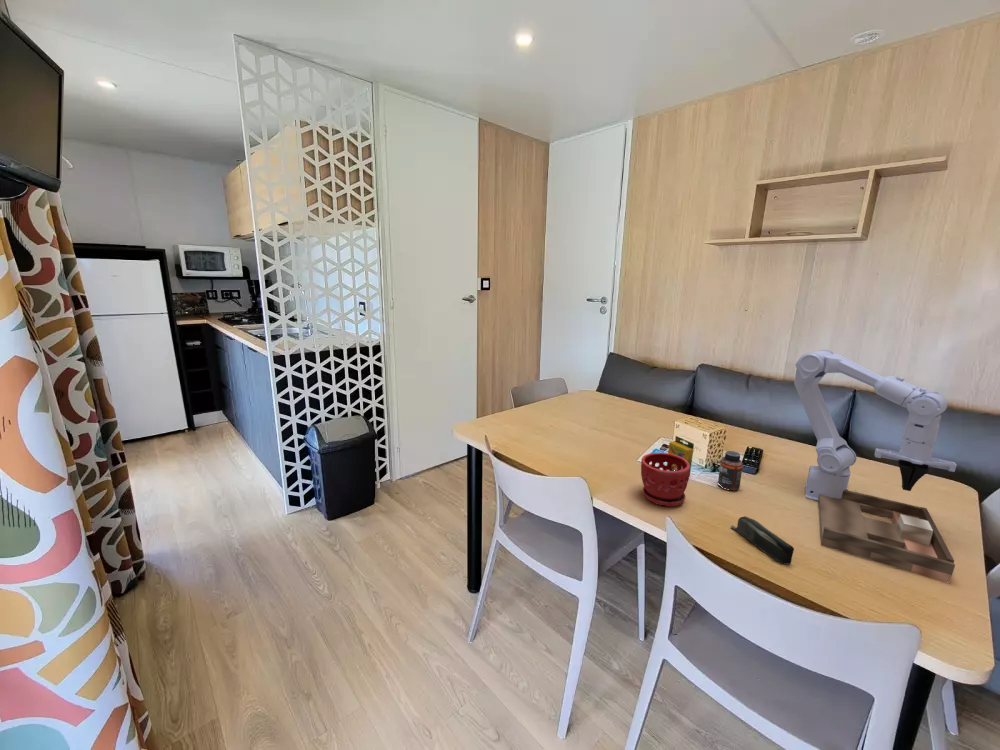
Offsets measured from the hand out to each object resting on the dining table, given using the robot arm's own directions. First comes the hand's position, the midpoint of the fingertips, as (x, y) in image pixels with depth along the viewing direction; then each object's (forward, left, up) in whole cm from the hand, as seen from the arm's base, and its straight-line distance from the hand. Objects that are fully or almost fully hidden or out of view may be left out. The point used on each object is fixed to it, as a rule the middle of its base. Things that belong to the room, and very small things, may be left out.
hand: (906, 489), depth 107 cm
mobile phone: (-29, -31, -11) cm, 44 cm away
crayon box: (-54, -3, -11) cm, 55 cm away
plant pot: (-54, -23, -11) cm, 60 cm away
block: (+1, -9, -8) cm, 12 cm away
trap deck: (-6, -9, -10) cm, 15 cm away
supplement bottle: (-39, -4, -11) cm, 41 cm away
